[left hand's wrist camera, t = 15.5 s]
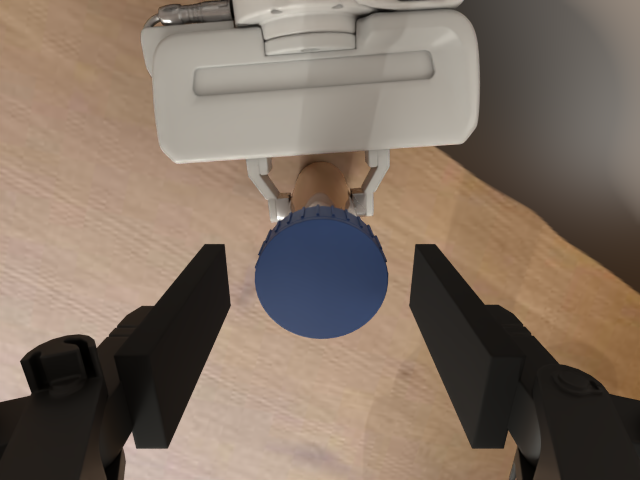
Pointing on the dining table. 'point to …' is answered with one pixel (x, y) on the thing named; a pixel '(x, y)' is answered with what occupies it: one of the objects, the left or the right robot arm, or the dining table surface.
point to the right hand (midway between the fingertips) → (322, 217)
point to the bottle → (321, 189)
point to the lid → (321, 273)
